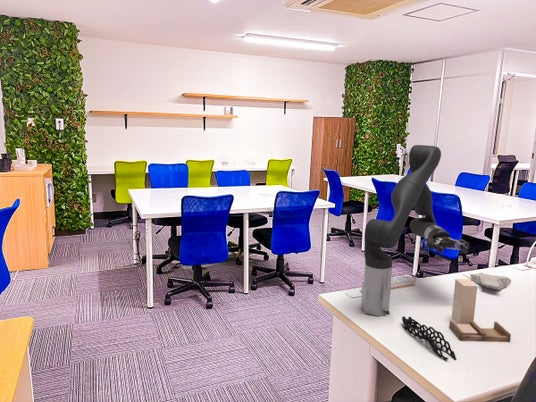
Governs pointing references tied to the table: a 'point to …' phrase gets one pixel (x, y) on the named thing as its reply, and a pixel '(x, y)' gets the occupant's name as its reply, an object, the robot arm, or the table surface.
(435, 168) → the robot arm
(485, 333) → the wooden open-ended tray
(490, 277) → the rock
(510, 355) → the table surface
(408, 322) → the decorative element
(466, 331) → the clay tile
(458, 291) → the beige wooden block
